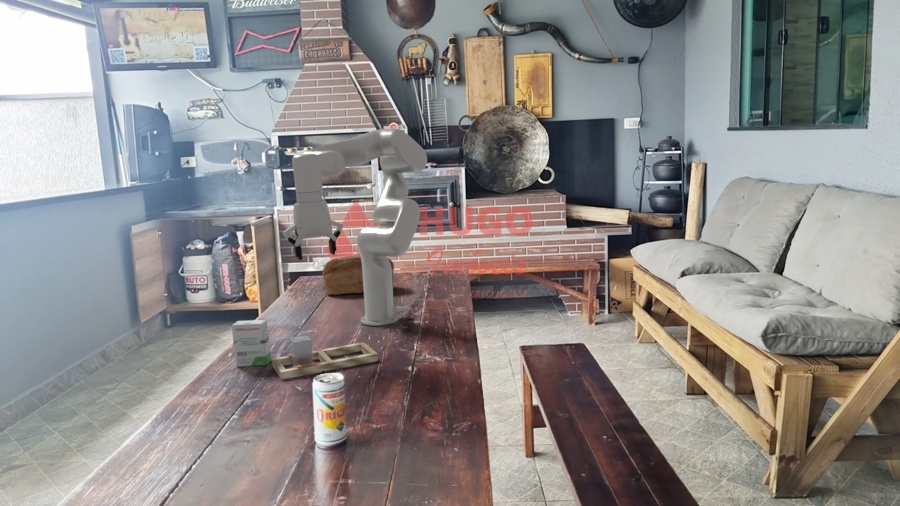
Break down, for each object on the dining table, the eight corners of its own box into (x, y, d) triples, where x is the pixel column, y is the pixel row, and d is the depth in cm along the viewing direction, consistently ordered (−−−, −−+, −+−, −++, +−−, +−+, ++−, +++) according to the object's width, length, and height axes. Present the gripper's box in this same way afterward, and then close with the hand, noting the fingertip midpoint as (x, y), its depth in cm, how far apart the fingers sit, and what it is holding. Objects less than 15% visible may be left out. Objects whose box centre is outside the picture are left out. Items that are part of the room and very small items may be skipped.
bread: (396, 292, 253) (394, 256, 250) (323, 297, 249) (320, 261, 247) (394, 285, 265) (392, 251, 262) (325, 290, 261) (322, 256, 258)
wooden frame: (364, 348, 185) (363, 340, 185) (378, 360, 175) (377, 352, 174) (272, 365, 174) (271, 356, 174) (281, 379, 164) (280, 370, 163)
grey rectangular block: (309, 363, 175) (307, 335, 174) (313, 368, 171) (311, 339, 170) (292, 366, 173) (290, 338, 172) (296, 371, 169) (294, 342, 168)
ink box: (272, 359, 179) (268, 318, 177) (266, 365, 175) (262, 323, 172) (241, 360, 180) (237, 319, 178) (235, 367, 175) (230, 325, 173)
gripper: (335, 193, 190) (341, 250, 193) (276, 200, 182) (283, 259, 186) (343, 195, 183) (349, 254, 187) (282, 202, 176) (289, 263, 179)
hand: (316, 256), depth 186 cm, fingers open, 9 cm apart
